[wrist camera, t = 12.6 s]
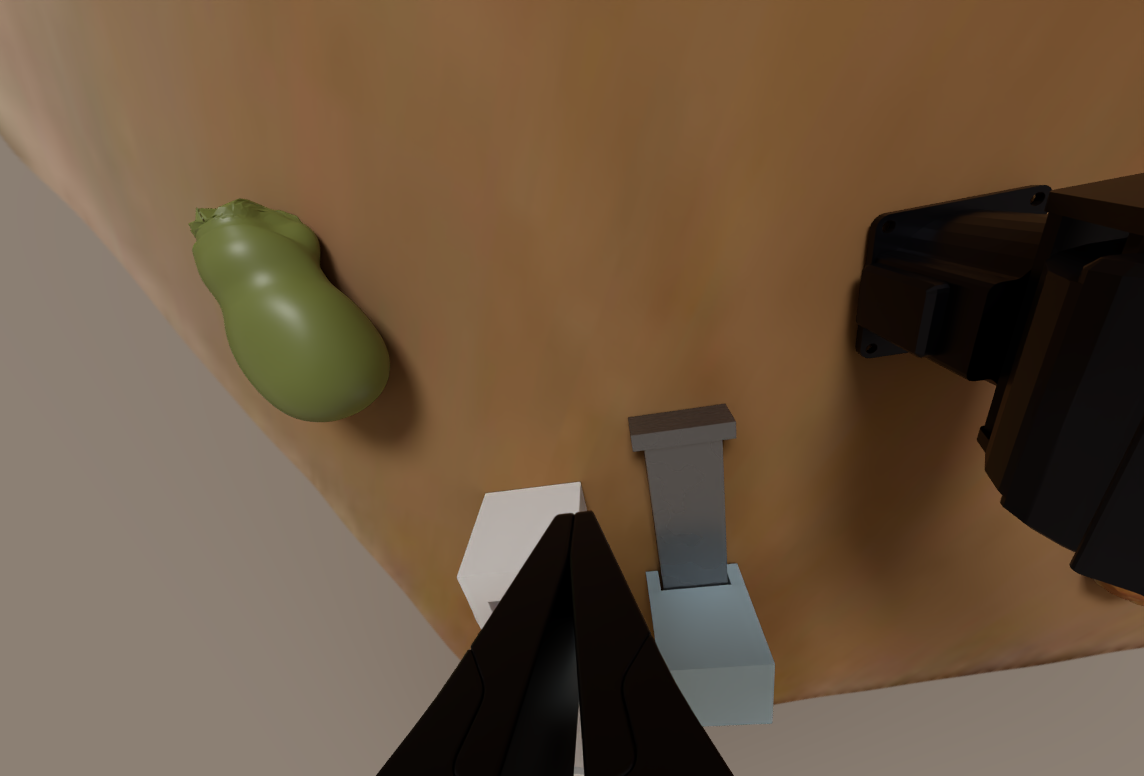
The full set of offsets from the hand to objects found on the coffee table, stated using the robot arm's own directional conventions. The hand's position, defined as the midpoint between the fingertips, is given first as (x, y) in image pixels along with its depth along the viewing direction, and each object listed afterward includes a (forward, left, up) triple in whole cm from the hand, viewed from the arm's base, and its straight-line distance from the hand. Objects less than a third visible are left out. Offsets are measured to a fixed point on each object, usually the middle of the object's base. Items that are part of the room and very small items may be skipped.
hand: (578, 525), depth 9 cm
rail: (-4, +15, -12) cm, 20 cm away
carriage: (-4, +20, -12) cm, 24 cm away
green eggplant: (+13, -4, -13) cm, 18 cm away
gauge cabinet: (+5, +13, -12) cm, 19 cm away
